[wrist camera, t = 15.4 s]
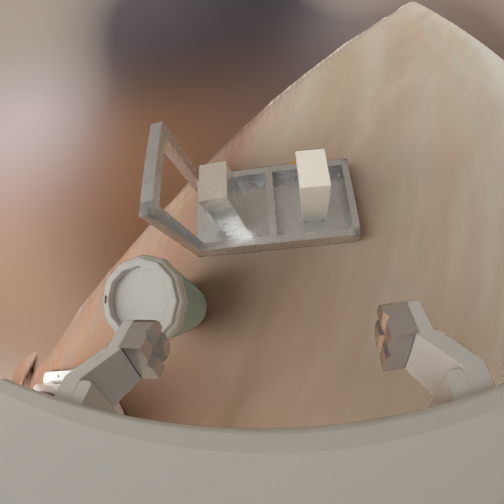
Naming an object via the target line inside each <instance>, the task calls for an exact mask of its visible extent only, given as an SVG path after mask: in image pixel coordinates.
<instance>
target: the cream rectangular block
mask: <svg viewBox="0 0 504 504" xmlns="http://www.w3.org/2000/svg"><path fill="white" fill-rule="evenodd" d="M295 154H296V163H297V173H298V184H299V194H300V202H301V210H302V219H303V222H305V221H315V220H325V219H327V212H328V205H329V198H330V191H331V181H330V176H329V171H328V165H327V160H326V155H325V151H324V149H316V150H305V151H296V152H295Z"/></svg>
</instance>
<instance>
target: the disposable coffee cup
mask: <svg viewBox="0 0 504 504" xmlns="http://www.w3.org/2000/svg"><path fill="white" fill-rule="evenodd" d="M103 306H104V312H105V317H106V321H107V322H108V323H109V325H110V326H111V327H112V329H113V330H114V331H115V332H117V330H118V329H119V327H120V325H121V323H122V322H123V321H124V320H157V321H159V322H160V324H161V325H162V327H163V328H162V330H161V332H163V333H164V334H165V335H167V338H168V340H170V339H172V338H174V337H176V336H178V335H180V334H182V333H184V332H186V331H189V330H191V329H193V328H195V327H197V326H198V325H199V324H200V323H201V321H202V320H203V319H204V318H205V314H206V310H207V303H206V299H205V295H204V294H203V293H202V292H201V291H200V290H199V289H198V288H197V287H196V286H195V285H194V284H192V283H191V282H190V281H189V280H188V279H186V278H185V277H184V276H183V275H181V274H180V273H179V272H178V271H177V270H175V268H174V267H173V266H172V265H171V264H170V263H169V262H168V261H167V260H165V259H161V258H157V257H153V256H148V255H141V256H138V257H136V258H133V259H131V260H128V261H125V262H124V263H121V264H120V265H119V266H118V267H117V268H116V269H115V271H114V272H113V273H112V274H111V275H110V276H109V277H108V279H107V282H106V286H105V290H104V294H103Z"/></svg>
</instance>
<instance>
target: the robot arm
mask: <svg viewBox="0 0 504 504" xmlns="http://www.w3.org/2000/svg"><path fill="white" fill-rule="evenodd" d="M377 315H378V318H379V320H378V321H377V322H376V324H375V339H376V344H377V348H379V349H380V350H381V353H380V360H381V364H382V368H383V371H387V370H394V369H401V368H405V369H406V370H407V371H408V372H409V373H410V374H411V375H412V376H413V377H414V378H415V379H416V380H417V381H418V382H419V383H420V384H421V385H422V386H423V387H424V388H425V389H426V390H427V391H428V392H429V393H430V394H431V395H432V396H433V397H434V398H433V400H432V402H431V404H430V405H429V407H428V408H426V409H422V410H418V411H413V412H409V413H404V414H399V415H394V416H389V417H384V418H378V419H372V420H366V421H359V422H352V423H344V424H335V425H325V426H313V427H296V428H225V427H209V426H197V425H187V424H178V423H170V422H162V421H156V420H149V419H143V418H137V417H132V416H127V415H124V412H123V409H122V407H121V405H120V403H119V401H120V400H121V399H122V398H123V397H124V396H125V395H126V394H127V393H128V392H129V391H130V390H131V389H132V388H133V387H134V386H135V385H136V384H137V383H138V382H139V381H140V380H141V378H145V379H160V377H161V374H162V371H163V369H164V365H163V361H164V360H166V359H167V358H168V355H169V352H170V344H169V340H168V338H167V335H165V334H164V333H163V332H161V330H162V328H163V327H162V325H161V324H160V322H159V321H157V320H124V321H123V322H122V323H121V325H120V327H119V329H118V330H117V332H116V334H115V336H114V337H113V339H112V341H111V343H110V344H109V346H108V347H105V348H103V349H102V350H100V351H99V352H97V353H96V354H95V355H93V356H92V357H90V358H89V359H88V360H86V361H85V362H83V363H82V364H81V365H79V366H78V367H76V368H75V369H72V370H61V371H50V372H46V373H45V375H44V379H43V383H38V384H36V385H35V386H34V389H31V388H28V387H25V386H23V385H20V384H18V383H15V382H13V381H10V380H8V379H0V504H504V383H502V384H500V385H498V386H495V385H494V382H493V380H492V378H491V376H490V373H489V371H488V369H487V367H486V365H485V362H484V360H483V359H481V358H480V357H478V356H477V355H475V354H474V353H472V352H471V351H469V350H468V349H466V348H465V347H463V346H462V345H460V344H459V343H457V342H456V341H454V340H453V339H451V338H450V337H448V336H447V335H445V334H444V333H442V332H441V331H439V330H438V329H436V330H434V329H433V327H432V325H431V323H430V321H429V319H428V317H427V315H426V313H425V311H424V309H423V307H422V305H421V303H420V301H419V300H418V299H414V300H409V301H405V302H404V301H403V302H397V303H390V304H383V305H379V306H378V310H377Z"/></svg>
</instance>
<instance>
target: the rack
mask: <svg viewBox="0 0 504 504" xmlns="http://www.w3.org/2000/svg"><path fill="white" fill-rule="evenodd" d="M164 153H165V154H166V155H167V156H168V157H169V159H170V160H171V161H172V162H173V164H174V165H175V166H176V167H177V168H178V169H179V171H180V172H181V173H182V175H184V177H185V178H186V179H187V181H188V182H189V183H190V184H191V186H192V187H193V188H194V189H195V191H196V192H197V193H198V199H197V237H196V236H195V235H193V234H192V233H191V232H190V231H189V230H187V229H186V228H185V227H184V226H183V225H181V224H180V223H179V222H178V221H177V220H175V219H174V218H173V217H172V216H171V215H169V214H168V213H167V212H166V211H165V210H163V209H162V208H161V207H160V206H159V201H160V188H161V177H162V167H163V157H164ZM327 165H328V171H329V176H330V181H331V191H330V198H329V205H328V212H327V219H325V220H315V221H305V222H303V219H302V210H301V202H300V194H299V184H298V173H297V163H296V162H291V164H286V165H277V166H269V167H261V168H254V169H246V170H239V171H233V172H231V170H230V168H229V166H228V164H227V162H226V161H223V162H217V163H211V164H206V165H200V166H199V173H198V171H197V170H196V168H195V167H194V166H193V164H192V163H191V161H190V160H189V159H188V157H187V156H186V154H185V153H184V152H183V150H182V149H181V148H180V146H179V144H178V143H177V142H176V140H175V139H174V137H173V136H172V135H171V133H170V132H169V130H168V129H167V128H166V126H165V125H164V124H163V122H158V123H154V124H151V127H150V133H149V139H148V145H147V152H146V159H145V166H144V174H143V182H142V191H141V200H140V212H139V217H141V218H142V219H144V220H146V221H147V222H148V223H150V224H151V225H152V226H154V227H155V228H157V229H158V230H160V231H161V232H163V233H164V234H166V235H167V236H169V237H170V238H172V239H173V240H175V241H176V242H178V243H179V244H180V245H182V246H183V247H185V248H186V249H188V250H189V251H191V252H192V253H194V254H195V255H197V256H198V257H205V256H215V255H225V254H236V253H246V252H256V251H266V250H276V249H287V248H297V247H307V246H317V245H327V244H338V243H348V242H357V241H358V240H359V238H360V236H361V229H360V224H359V218H358V212H357V207H356V201H355V196H354V191H353V186H352V181H351V177H350V172H349V168H348V163H347V159H338V160H327Z"/></svg>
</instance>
